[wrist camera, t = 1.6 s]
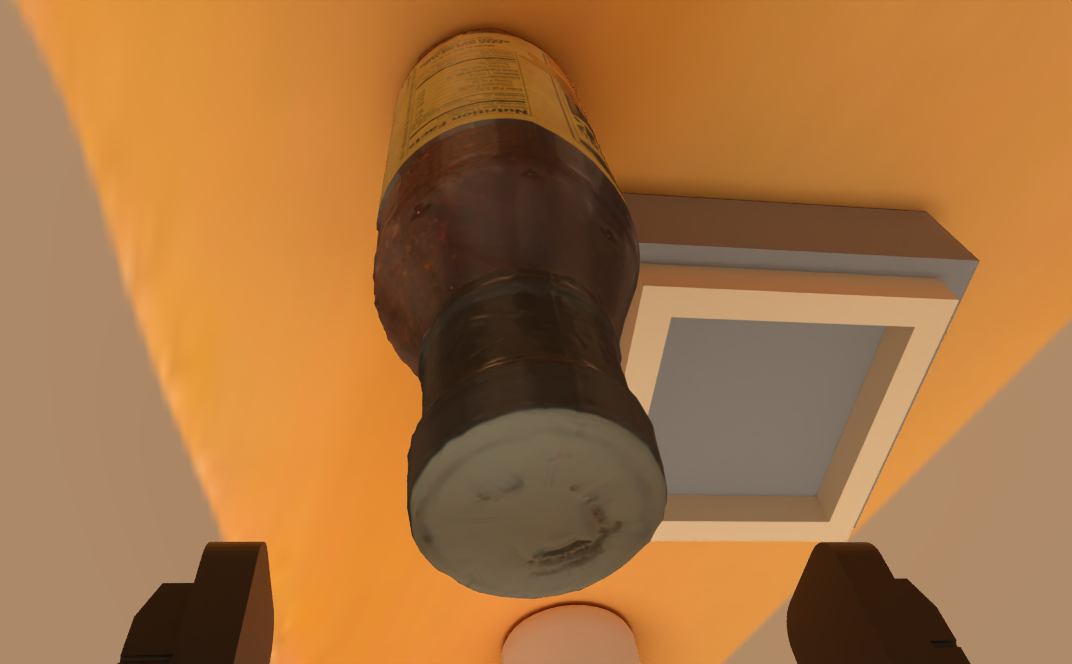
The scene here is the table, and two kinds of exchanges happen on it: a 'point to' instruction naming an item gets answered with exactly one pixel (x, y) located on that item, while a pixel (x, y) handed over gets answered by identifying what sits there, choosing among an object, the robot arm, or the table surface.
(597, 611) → the milk bottle
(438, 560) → the sauce bottle
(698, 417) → the tray
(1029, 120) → the table surface
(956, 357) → the table surface
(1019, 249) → the table surface
